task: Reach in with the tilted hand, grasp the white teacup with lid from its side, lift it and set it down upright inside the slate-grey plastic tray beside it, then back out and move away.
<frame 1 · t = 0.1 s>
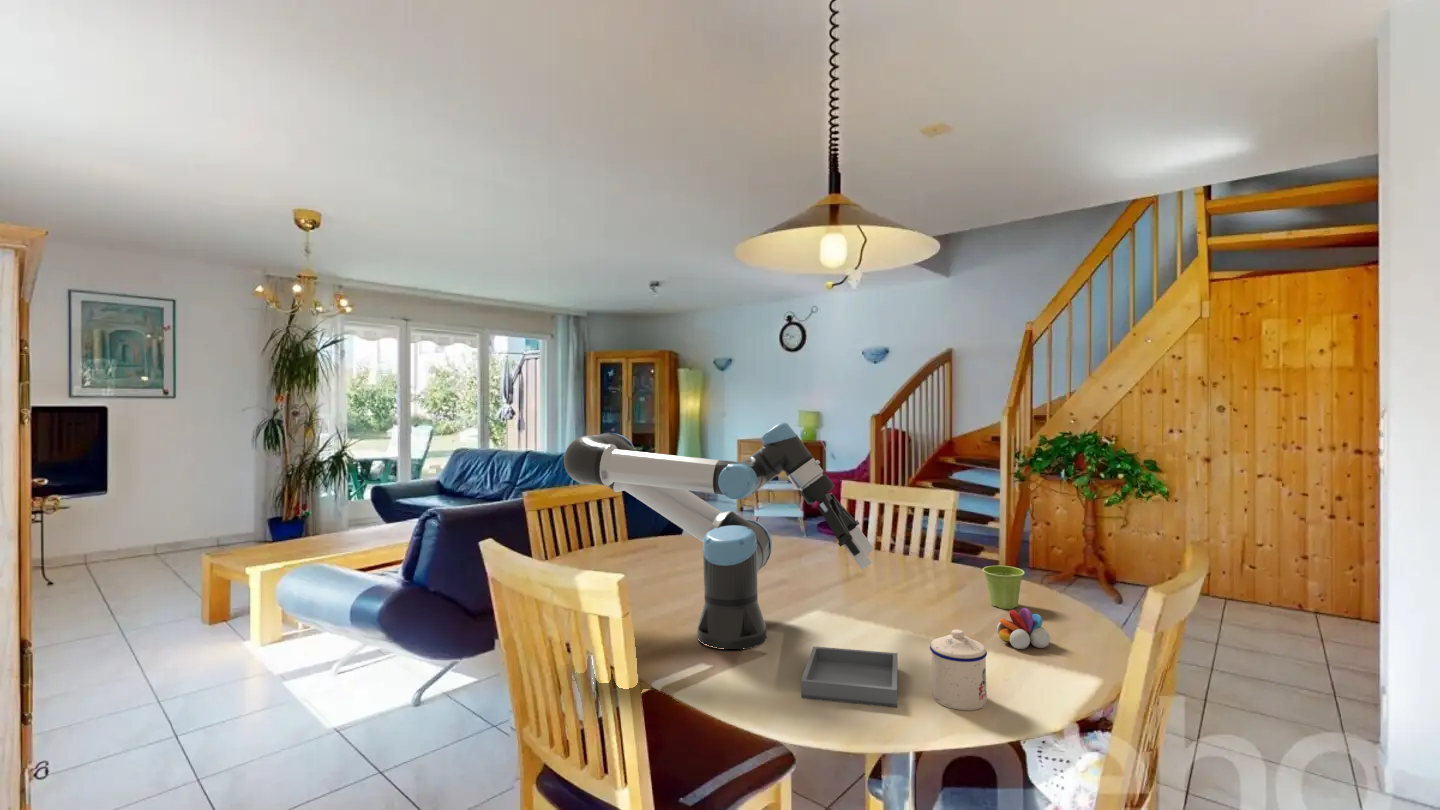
hand: (868, 559, 144), 15 cm above the table, tool tilted 35°, fingers open, 13 cm apart
plant pot: (1004, 606, 157), on the table
tray: (851, 682, 116), on the table
teacup with lid: (957, 696, 110), on the table
rainbow segmented toy: (1022, 644, 133), on the table
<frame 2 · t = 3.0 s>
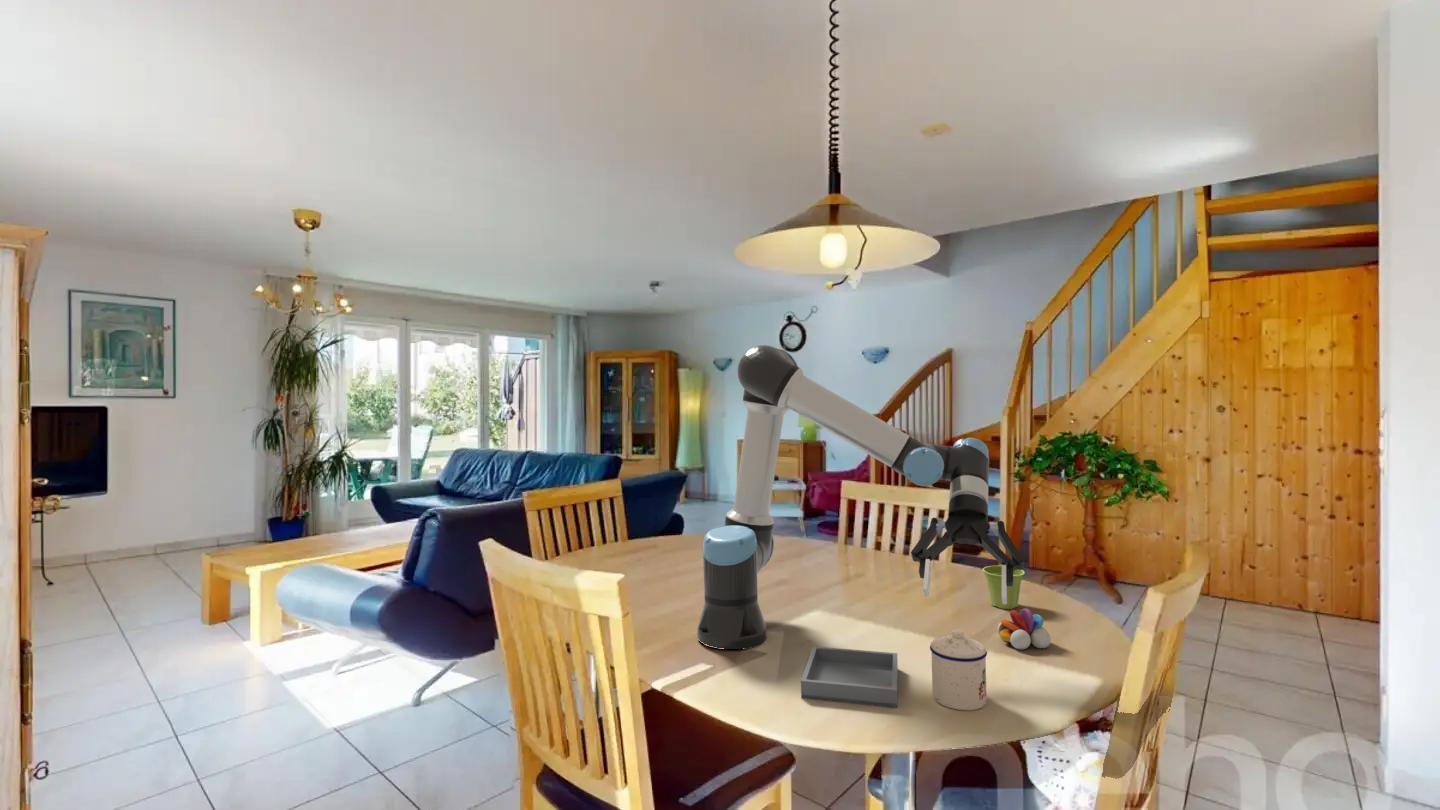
hand: (964, 596, 118), 14 cm above the table, tool tilted 45°, fingers open, 13 cm apart
nothing on the table moved.
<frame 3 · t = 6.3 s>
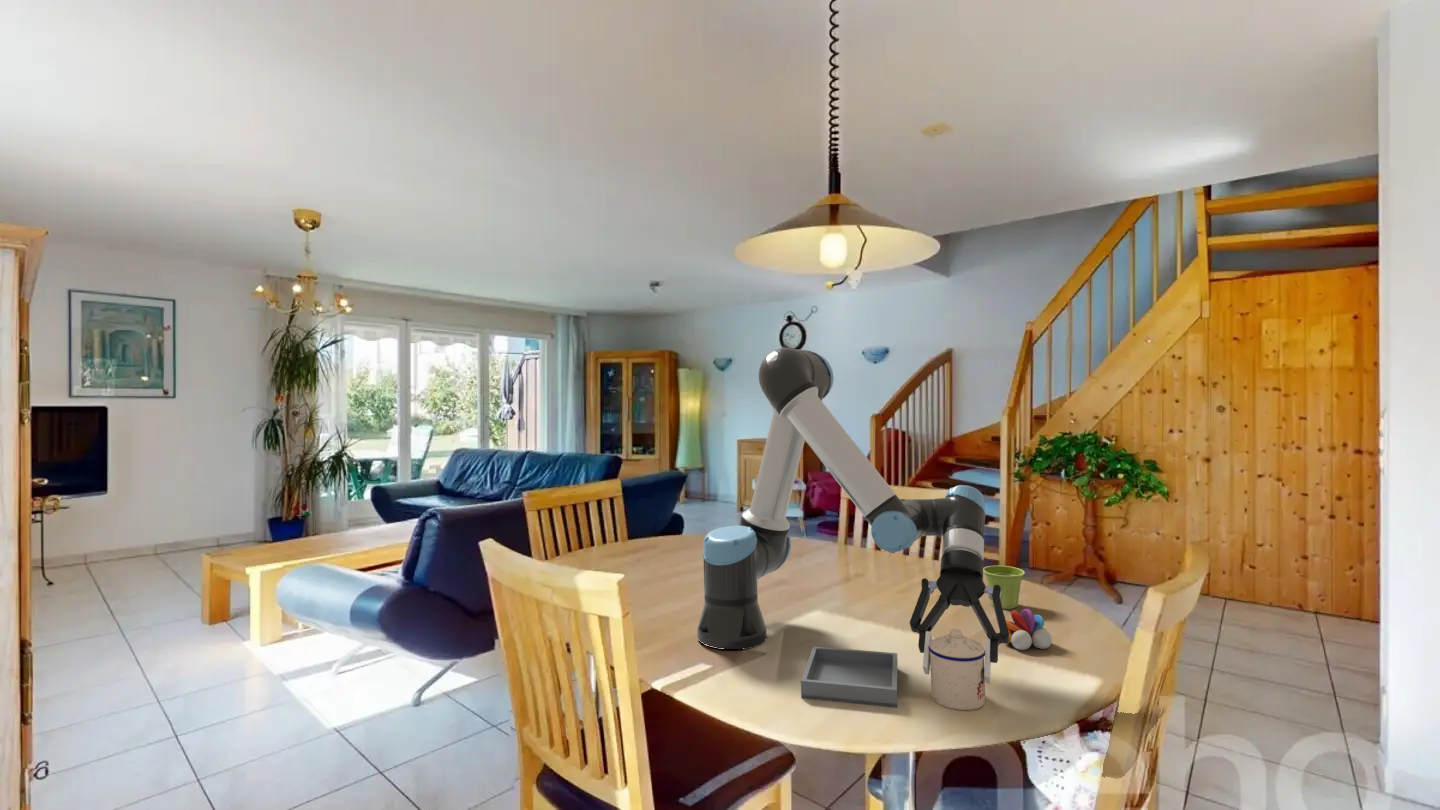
hand: (956, 675, 107), 5 cm above the table, tool tilted 45°, fingers closed on teacup with lid, 9 cm apart
teacup with lid: (956, 696, 110), on the table, touching gripper
everything else where it was.
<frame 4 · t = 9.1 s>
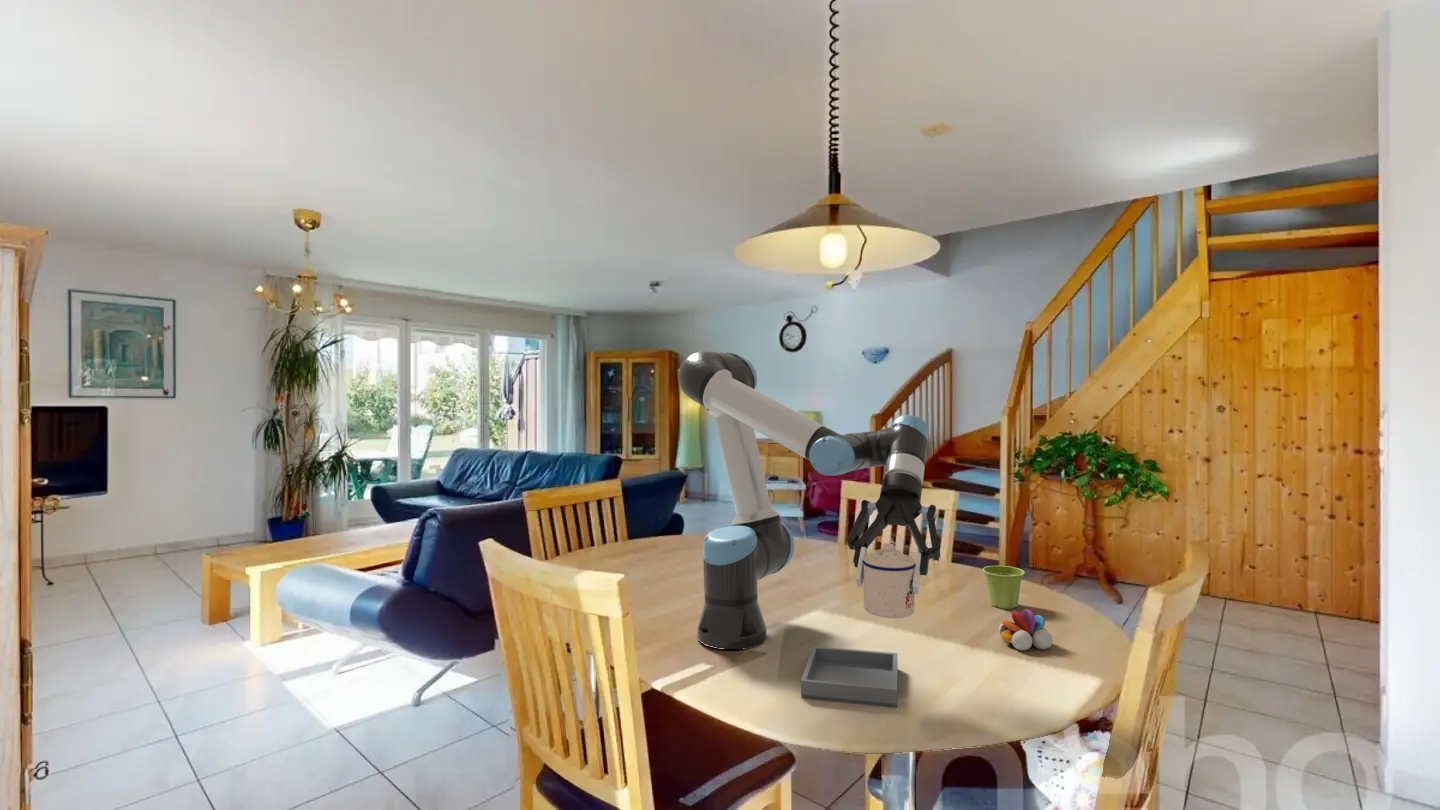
hand: (886, 586, 110), 19 cm above the table, tool tilted 45°, fingers closed on teacup with lid, 9 cm apart
teacup with lid: (888, 608, 114), point 14 cm above the table, touching gripper
everything else where it was.
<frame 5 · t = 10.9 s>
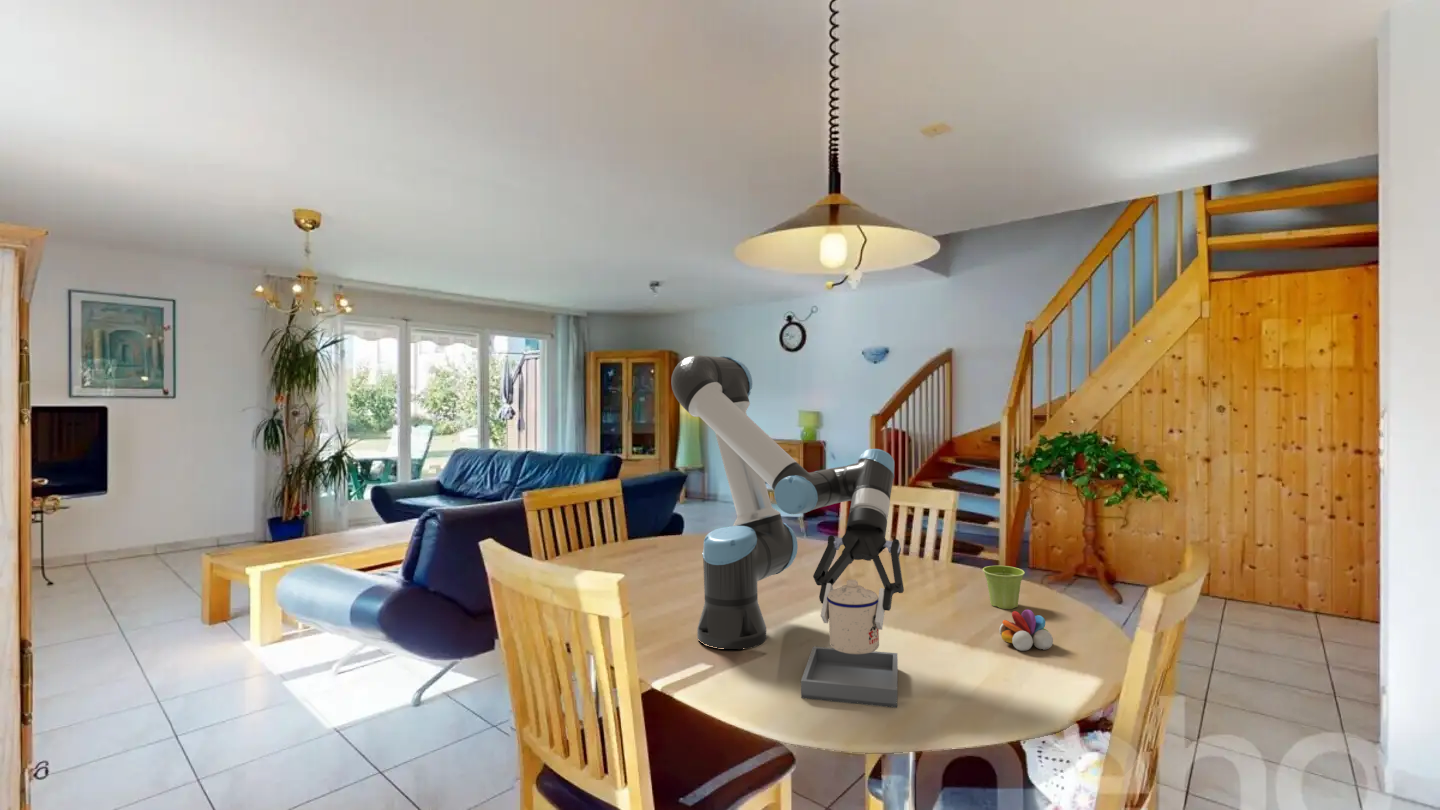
hand: (851, 622, 112), 12 cm above the table, tool tilted 45°, fingers closed on teacup with lid, 9 cm apart
teacup with lid: (854, 643, 115), point 7 cm above the table, touching gripper
everything else where it was.
when the fingers open (7 cm above the table, at t = 12.4 s): teacup with lid drops 1 cm, resting on tray.
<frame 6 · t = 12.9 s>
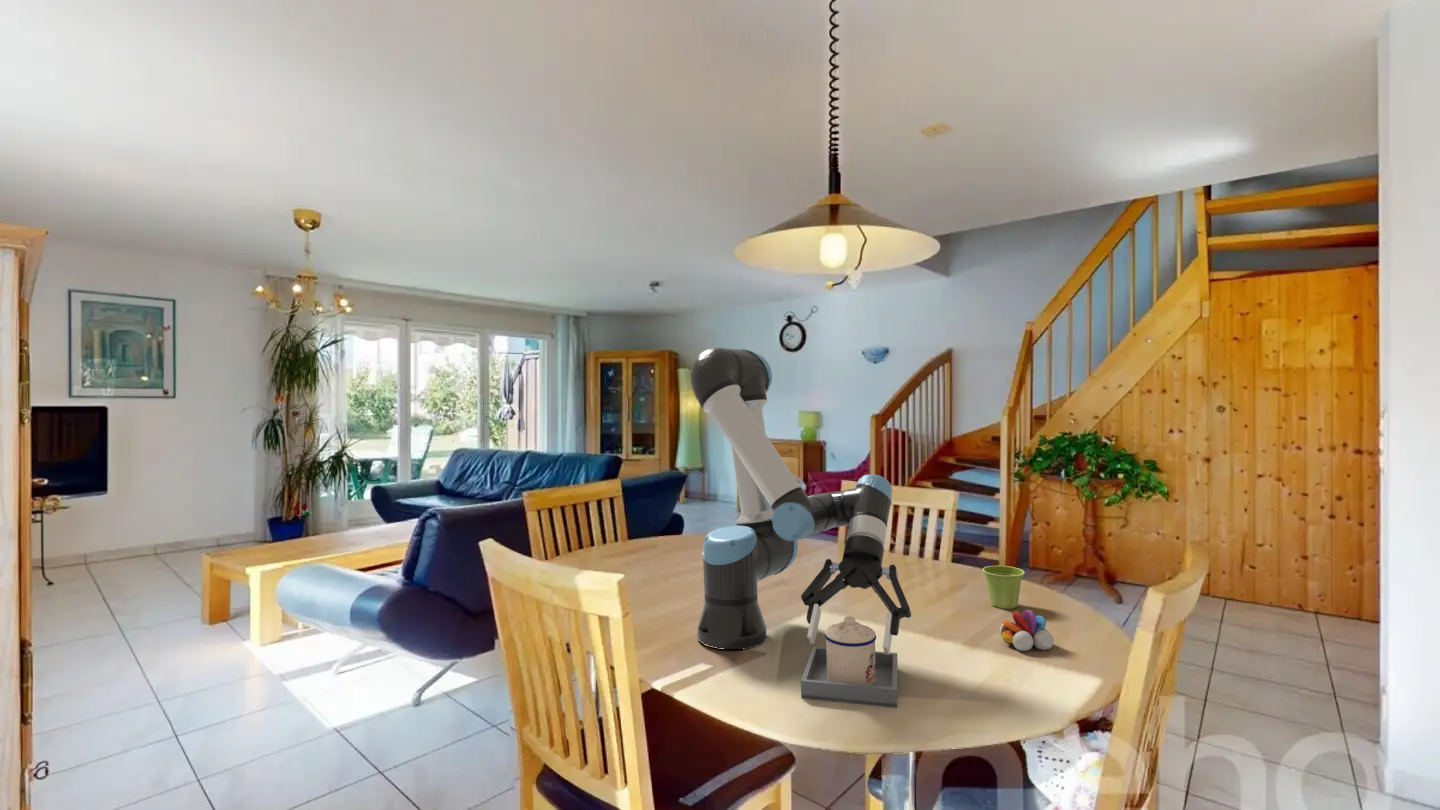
hand: (847, 645, 114), 8 cm above the table, tool tilted 45°, fingers open, 13 cm apart
teacup with lid: (851, 679, 116), resting on tray
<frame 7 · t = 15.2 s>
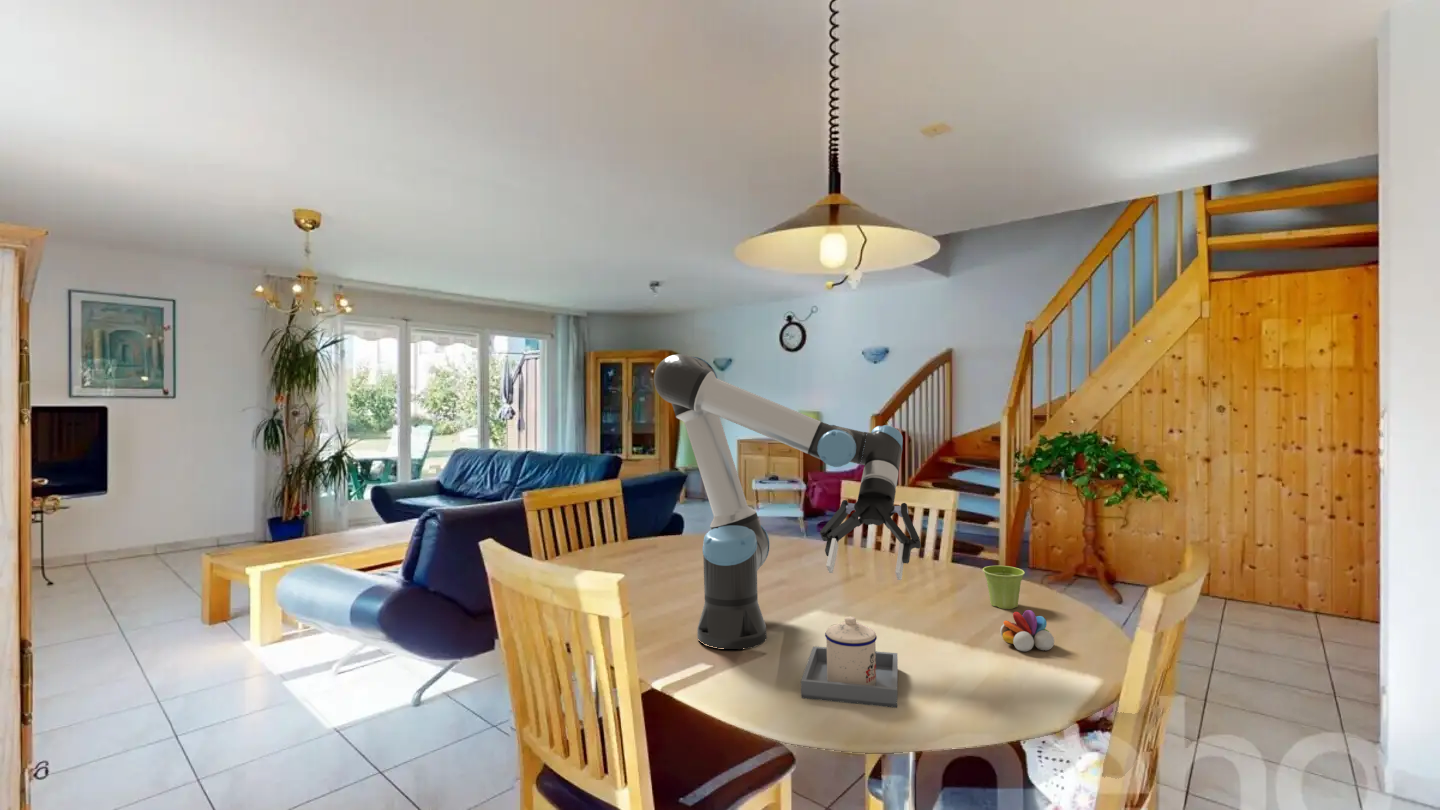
hand: (863, 573, 125), 17 cm above the table, tool tilted 45°, fingers open, 13 cm apart
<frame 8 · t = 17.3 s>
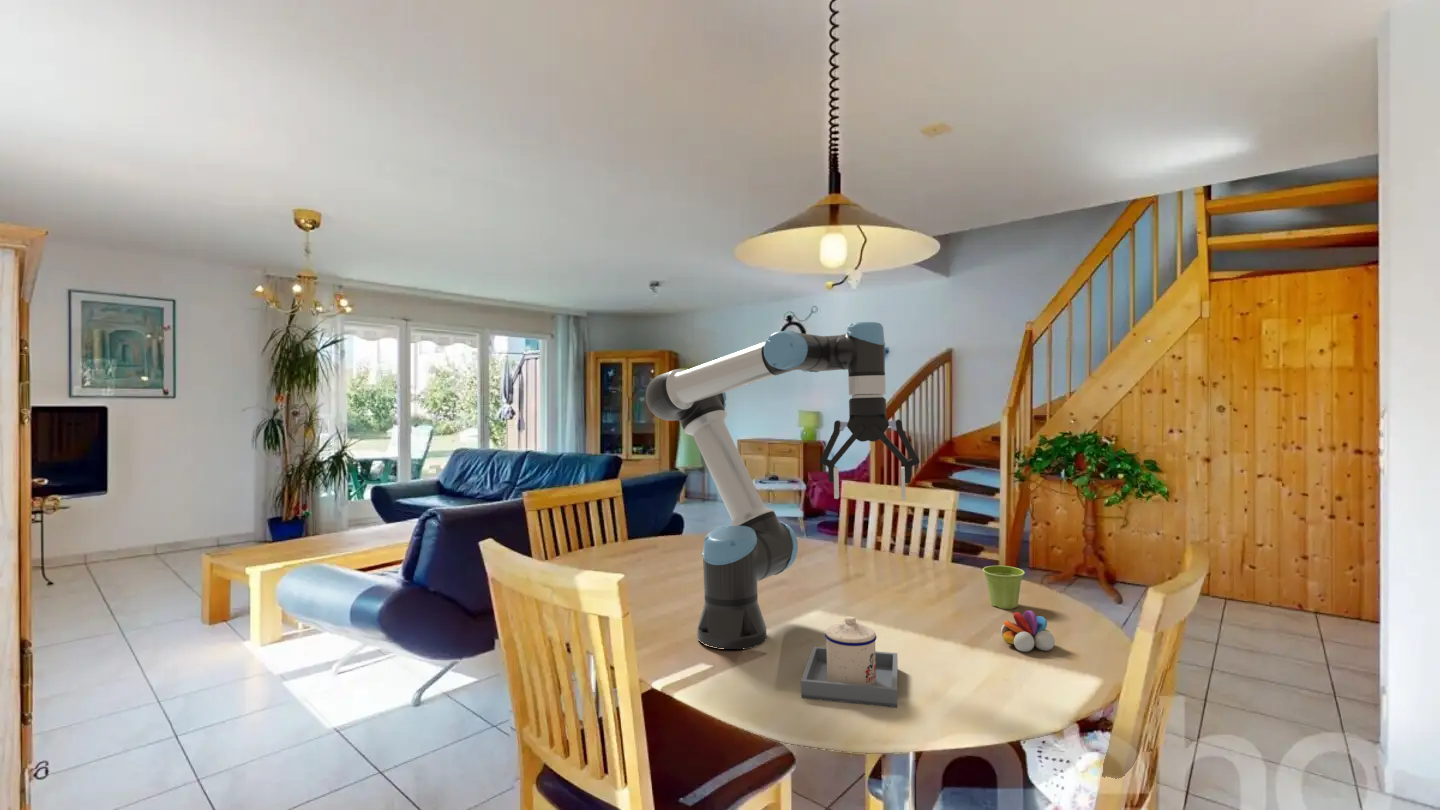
hand: (869, 498, 133), 31 cm above the table, tool pointing down, fingers open, 13 cm apart
at the end: teacup with lid inside the target area on the tray (0.1 cm from its centre), point 0.4 cm above the tray's base; teacup with lid tilted 0°; the gripper is holding nothing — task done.
